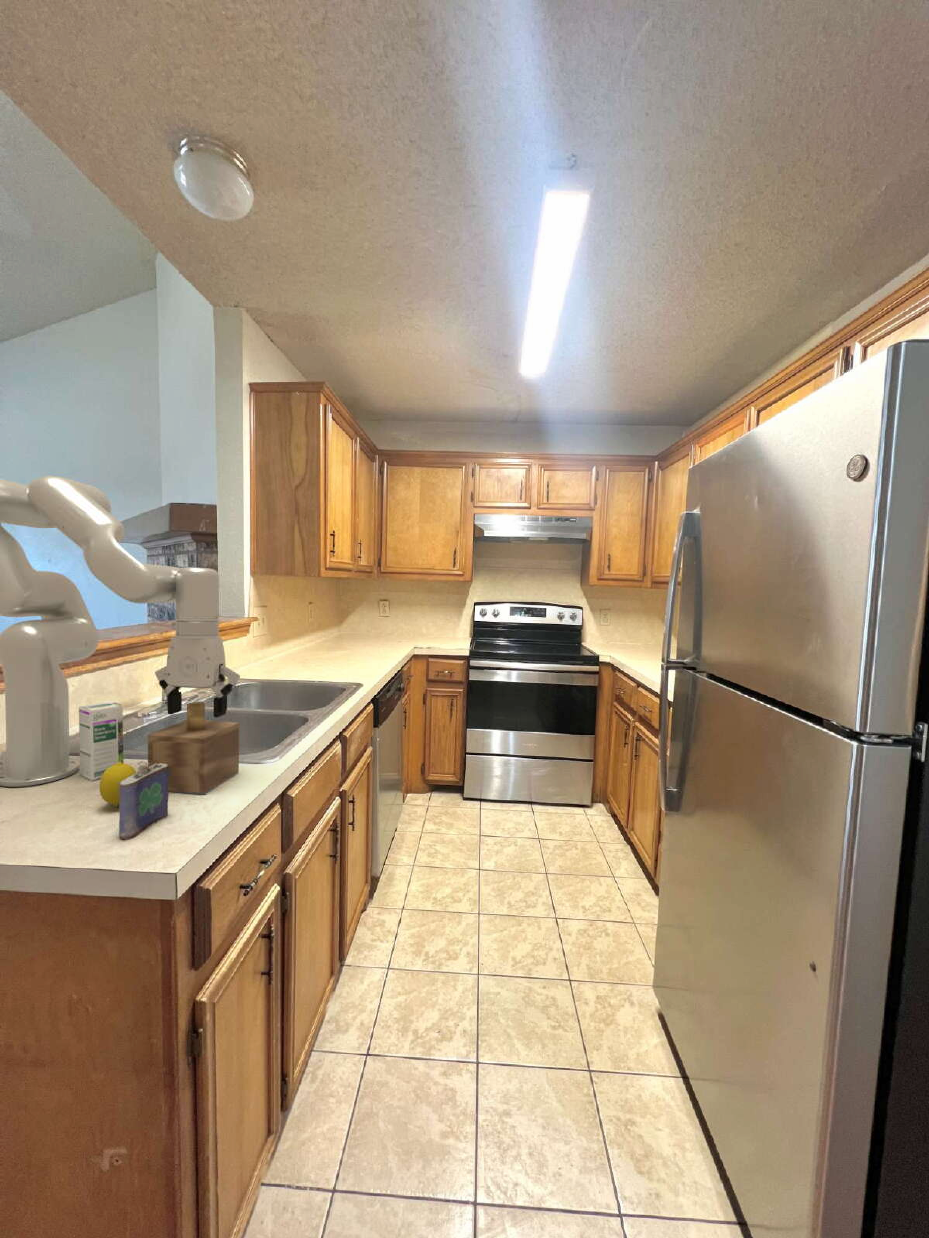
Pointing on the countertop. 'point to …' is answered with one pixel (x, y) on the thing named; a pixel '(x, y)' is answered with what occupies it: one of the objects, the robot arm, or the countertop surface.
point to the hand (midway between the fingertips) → (197, 714)
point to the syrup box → (100, 738)
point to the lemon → (114, 781)
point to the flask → (143, 799)
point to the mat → (208, 790)
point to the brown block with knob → (196, 751)
